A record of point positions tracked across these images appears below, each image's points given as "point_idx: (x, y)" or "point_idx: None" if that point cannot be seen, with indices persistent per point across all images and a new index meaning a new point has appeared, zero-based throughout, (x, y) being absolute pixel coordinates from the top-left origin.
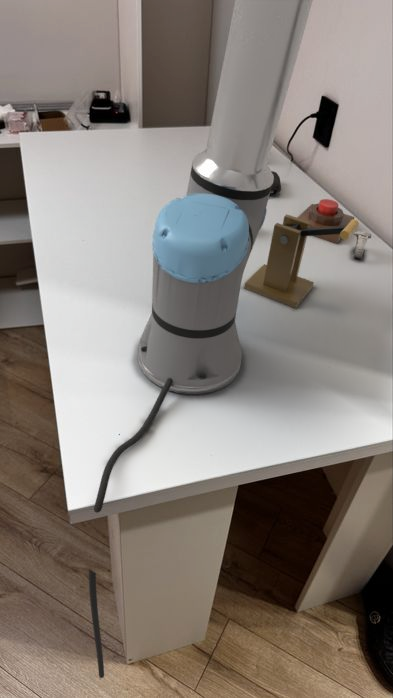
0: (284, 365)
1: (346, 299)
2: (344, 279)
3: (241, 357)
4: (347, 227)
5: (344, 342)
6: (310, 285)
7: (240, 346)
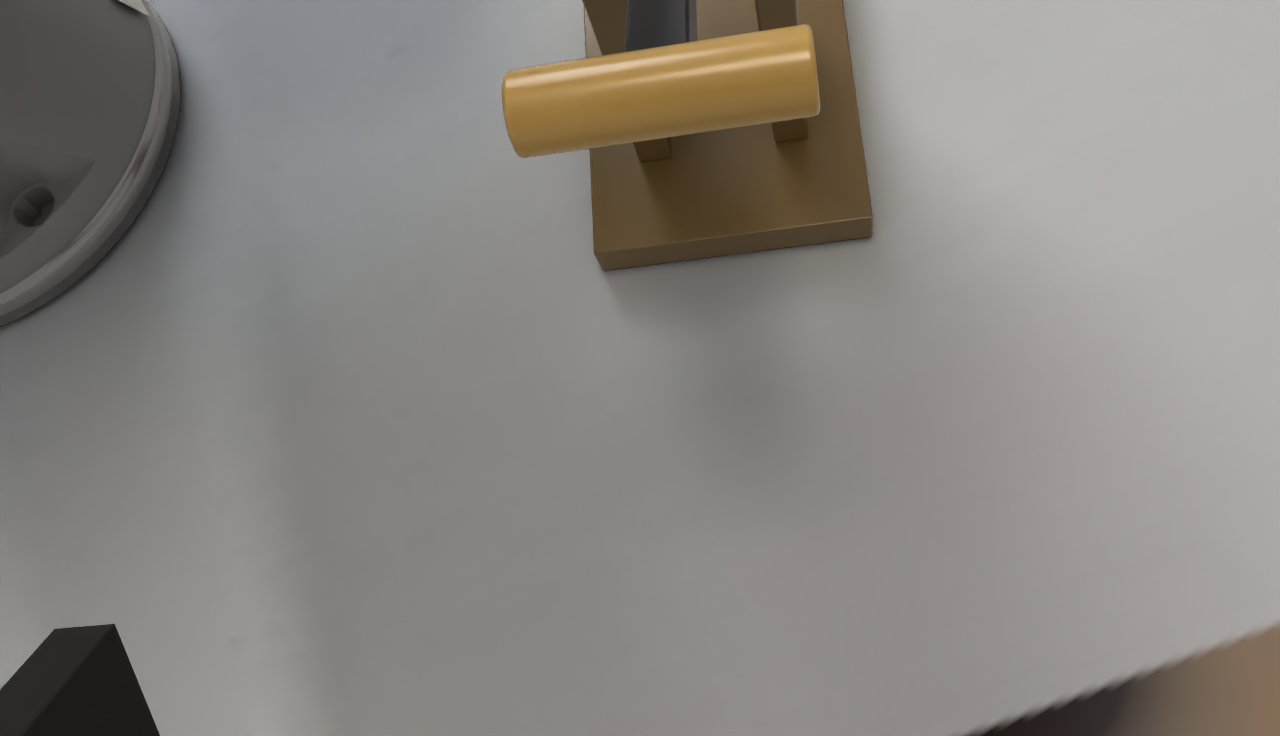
0: (136, 461)
1: (914, 447)
2: (1138, 335)
3: (5, 292)
4: (588, 69)
5: (481, 623)
6: (821, 220)
7: (12, 251)
